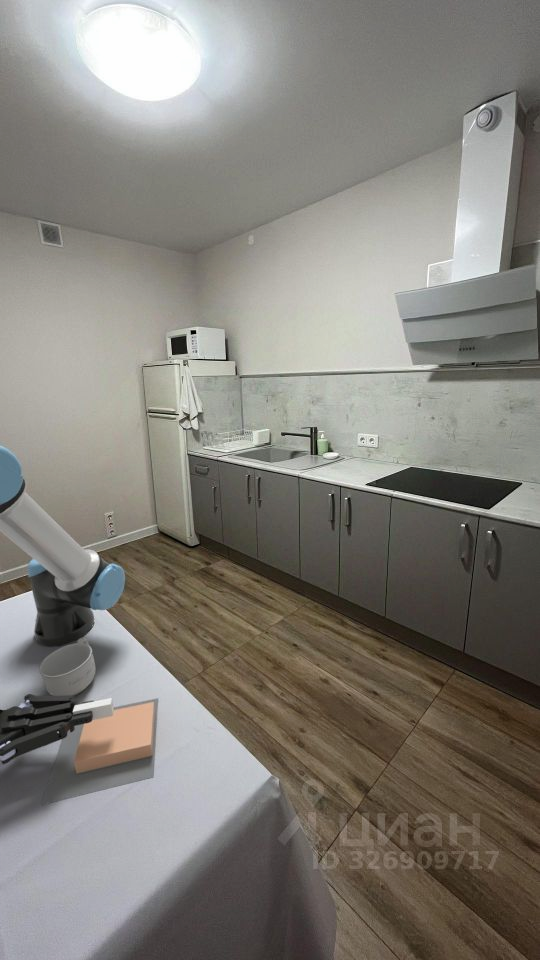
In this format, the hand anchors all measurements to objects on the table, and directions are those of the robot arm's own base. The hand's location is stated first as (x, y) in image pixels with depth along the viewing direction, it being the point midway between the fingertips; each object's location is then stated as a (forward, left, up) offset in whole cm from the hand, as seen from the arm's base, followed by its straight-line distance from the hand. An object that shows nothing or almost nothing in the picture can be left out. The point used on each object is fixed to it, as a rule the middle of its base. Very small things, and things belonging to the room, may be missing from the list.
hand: (112, 706), depth 74 cm
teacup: (-20, -12, -9) cm, 25 cm away
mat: (0, -2, -9) cm, 9 cm away
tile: (0, -6, -7) cm, 9 cm away
